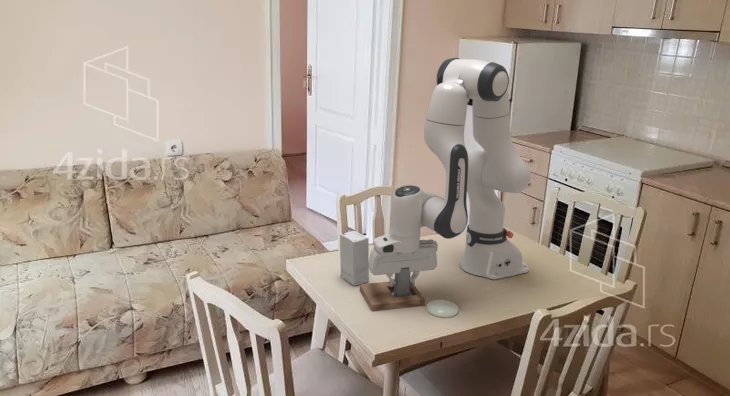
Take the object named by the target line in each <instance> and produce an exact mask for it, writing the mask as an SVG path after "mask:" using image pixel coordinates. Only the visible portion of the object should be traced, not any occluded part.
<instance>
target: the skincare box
mask: <svg viewBox="0 0 730 396" xmlns="http://www.w3.org/2000/svg"><path fill="white" fill-rule="evenodd" d="M369 239H370V238H369V237H367V236H365V235H364V234H361V232H360V233H359V232H358V231H356V230H352V231H348V232H343V233H340V234H339V245H340V246H339V248H340V249H339V250H340V254H339V257H340V278H342V279H343V280H345V281H346V282H348V283H349V284H351V285H352V286H354V287H355V286H357V285H358V286H360V284H368V283H370V282H369V281H370V277H369V276H370V274H369V273H370V270H369V258H370V251H369V250H370V249H369Z"/></svg>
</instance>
